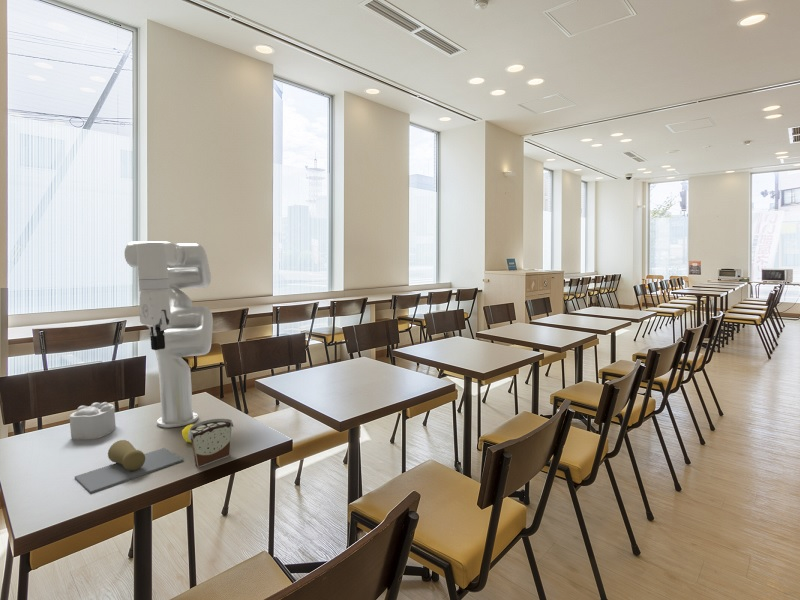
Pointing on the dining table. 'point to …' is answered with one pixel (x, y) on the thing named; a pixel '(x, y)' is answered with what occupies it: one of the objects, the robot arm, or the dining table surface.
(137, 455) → the cork
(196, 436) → the food container
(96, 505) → the dining table surface
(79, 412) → the lumpy-topped squat cylinder
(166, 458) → the mat
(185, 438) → the lemon
